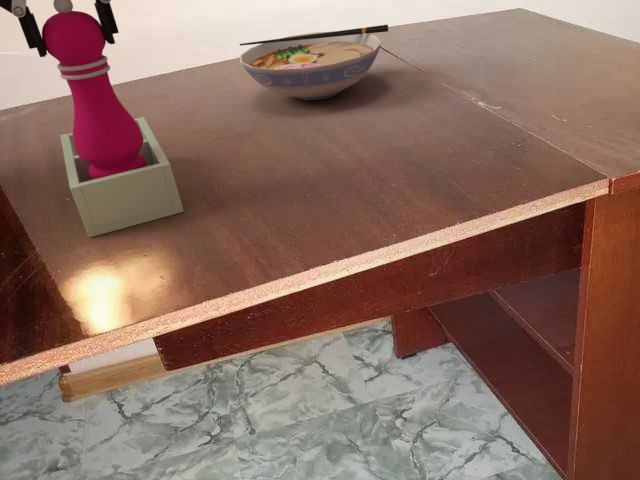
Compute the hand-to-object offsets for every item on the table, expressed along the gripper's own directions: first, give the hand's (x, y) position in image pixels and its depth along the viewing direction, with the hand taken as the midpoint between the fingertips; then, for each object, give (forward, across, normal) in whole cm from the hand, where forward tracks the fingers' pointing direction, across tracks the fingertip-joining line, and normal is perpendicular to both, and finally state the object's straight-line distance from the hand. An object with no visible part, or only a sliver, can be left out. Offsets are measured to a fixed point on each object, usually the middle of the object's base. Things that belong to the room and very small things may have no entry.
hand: (77, 46), depth 73 cm
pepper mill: (+15, 0, 0) cm, 15 cm away
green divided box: (+19, 0, -5) cm, 19 cm away
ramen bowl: (+19, -33, -27) cm, 47 cm away
